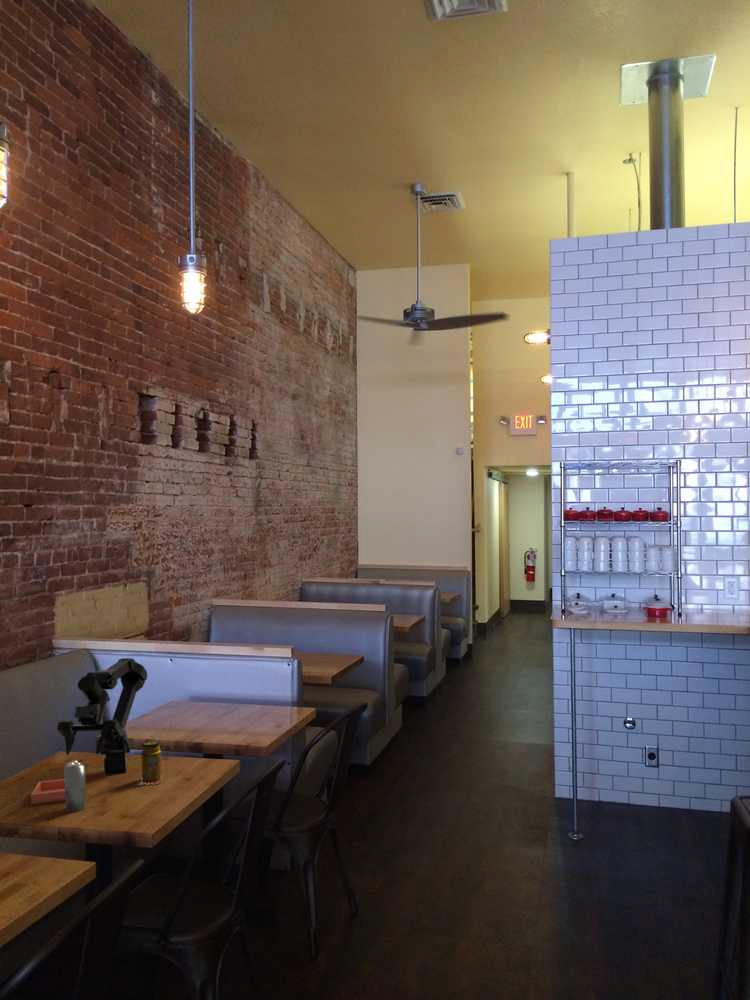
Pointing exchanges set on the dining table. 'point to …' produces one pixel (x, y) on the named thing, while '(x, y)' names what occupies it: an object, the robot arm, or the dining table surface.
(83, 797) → the pebble tin
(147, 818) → the dining table surface
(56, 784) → the dish
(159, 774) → the condiment
